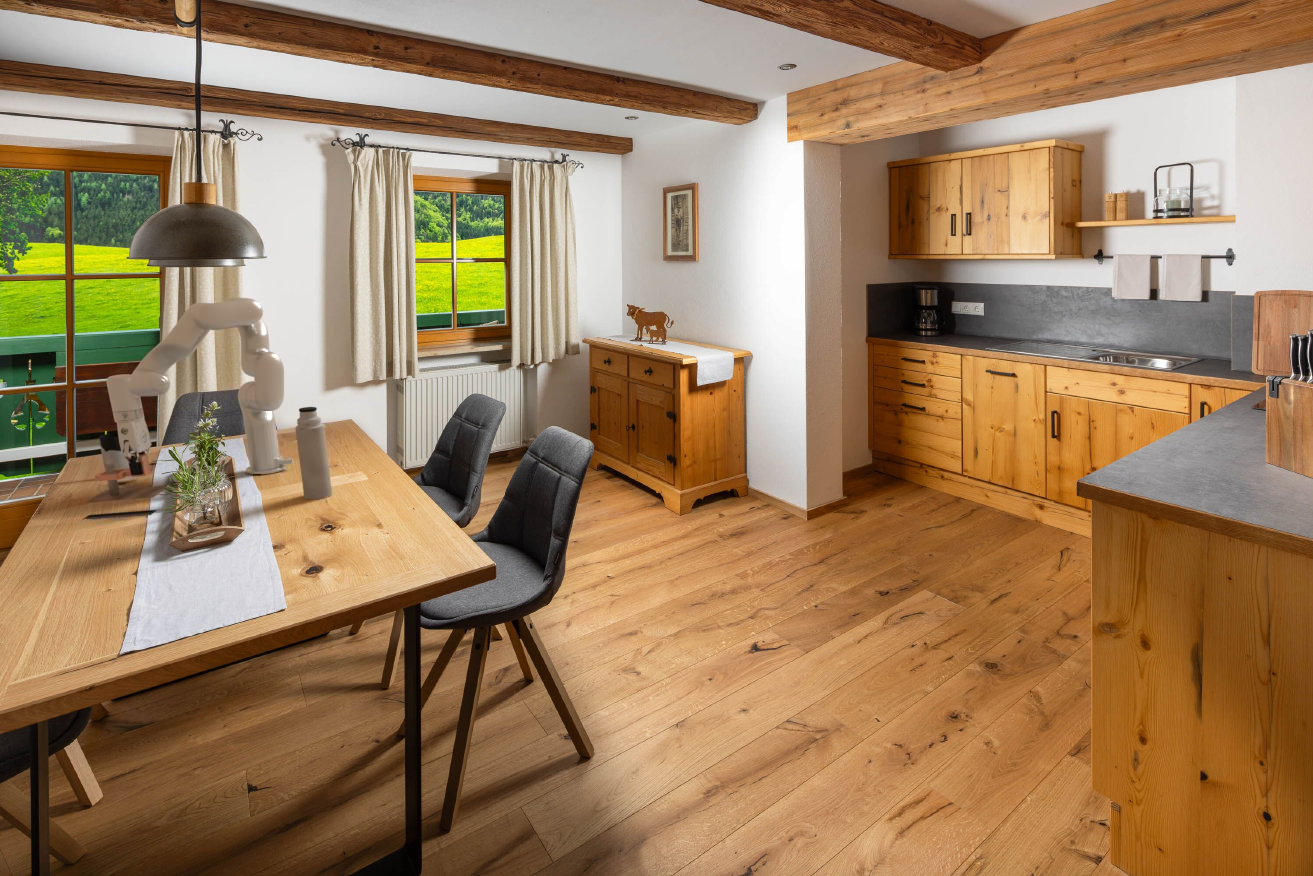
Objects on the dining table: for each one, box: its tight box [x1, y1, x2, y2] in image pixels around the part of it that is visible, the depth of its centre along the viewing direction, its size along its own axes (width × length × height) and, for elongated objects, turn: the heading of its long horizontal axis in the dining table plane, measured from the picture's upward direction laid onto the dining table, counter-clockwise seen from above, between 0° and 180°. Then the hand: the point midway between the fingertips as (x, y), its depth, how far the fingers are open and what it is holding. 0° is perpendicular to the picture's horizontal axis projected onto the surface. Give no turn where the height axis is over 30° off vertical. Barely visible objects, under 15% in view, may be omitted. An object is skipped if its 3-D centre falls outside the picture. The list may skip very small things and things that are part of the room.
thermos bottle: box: [294, 406, 333, 500], centre depth 227 cm, size 8×8×28 cm
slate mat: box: [82, 509, 157, 521], centre depth 217 cm, size 17×12×1 cm
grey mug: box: [99, 432, 151, 480], centre depth 252 cm, size 9×14×15 cm, turn 114°
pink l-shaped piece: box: [94, 454, 152, 482], centre depth 227 cm, size 13×7×6 cm, turn 103°
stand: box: [86, 459, 166, 503], centre depth 228 cm, size 18×13×12 cm
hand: (140, 472), depth 229 cm, fingers closed on pink l-shaped piece, 4 cm apart
